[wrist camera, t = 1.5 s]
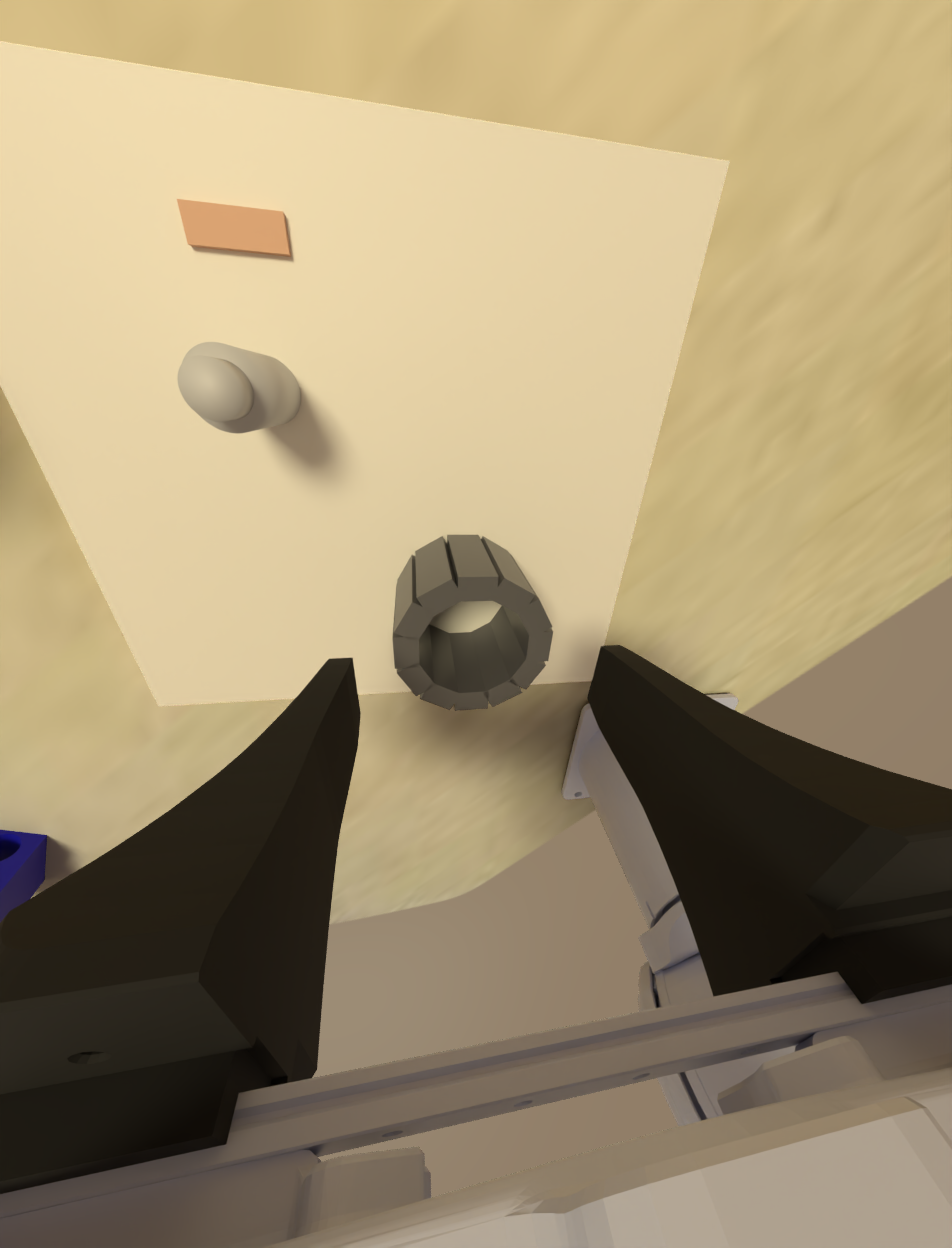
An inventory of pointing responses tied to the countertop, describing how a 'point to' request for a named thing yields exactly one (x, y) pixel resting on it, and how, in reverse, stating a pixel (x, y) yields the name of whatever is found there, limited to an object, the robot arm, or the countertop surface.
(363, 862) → the countertop surface
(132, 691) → the countertop surface
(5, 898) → the blue curved bracket
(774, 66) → the countertop surface
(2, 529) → the countertop surface
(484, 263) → the socket plate
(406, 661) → the grey grooved ring
